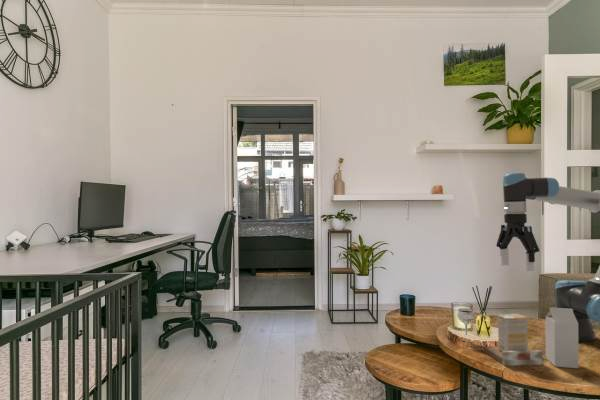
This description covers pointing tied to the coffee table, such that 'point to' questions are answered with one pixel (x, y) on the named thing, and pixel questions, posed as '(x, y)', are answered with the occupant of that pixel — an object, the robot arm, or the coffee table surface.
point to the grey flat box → (515, 356)
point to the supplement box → (512, 332)
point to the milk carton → (562, 338)
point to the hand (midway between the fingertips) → (517, 267)
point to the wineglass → (466, 316)
